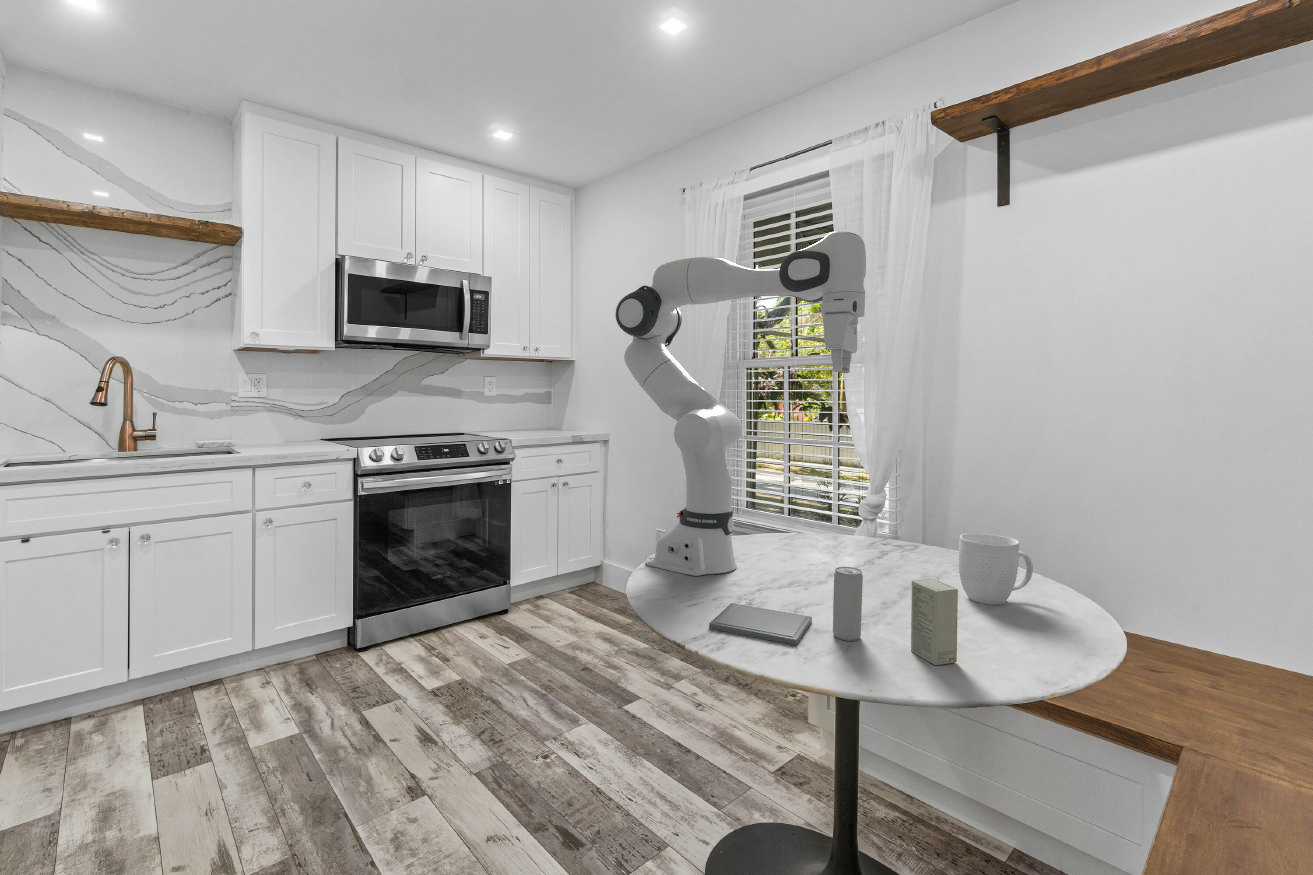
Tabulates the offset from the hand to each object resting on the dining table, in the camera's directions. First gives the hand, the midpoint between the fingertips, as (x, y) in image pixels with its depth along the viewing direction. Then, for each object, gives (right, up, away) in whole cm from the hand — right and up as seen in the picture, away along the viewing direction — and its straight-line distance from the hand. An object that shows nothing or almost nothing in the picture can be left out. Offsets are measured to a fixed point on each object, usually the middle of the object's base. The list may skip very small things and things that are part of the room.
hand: (841, 372), depth 133 cm
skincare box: (+5, -51, -33) cm, 61 cm away
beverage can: (-7, -50, -25) cm, 56 cm away
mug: (+30, -49, -5) cm, 57 cm away
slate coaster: (-21, -49, -20) cm, 57 cm away
